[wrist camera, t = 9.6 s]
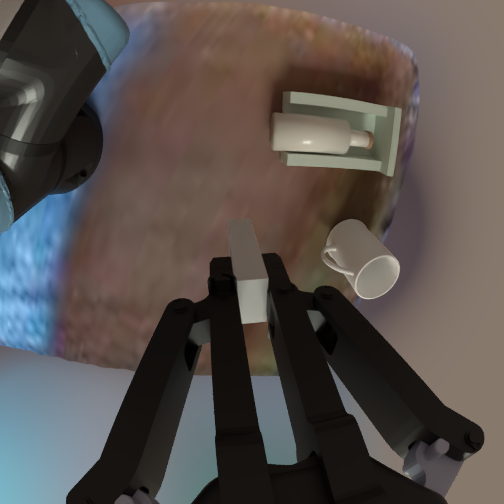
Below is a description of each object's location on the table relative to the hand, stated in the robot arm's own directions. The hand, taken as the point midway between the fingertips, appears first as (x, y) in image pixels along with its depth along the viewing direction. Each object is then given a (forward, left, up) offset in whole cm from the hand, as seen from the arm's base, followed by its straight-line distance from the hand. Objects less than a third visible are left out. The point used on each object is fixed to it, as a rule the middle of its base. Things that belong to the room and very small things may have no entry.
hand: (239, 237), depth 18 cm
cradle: (+16, +6, -24) cm, 29 cm away
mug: (+20, -13, -24) cm, 34 cm away
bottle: (+6, +5, -20) cm, 22 cm away
